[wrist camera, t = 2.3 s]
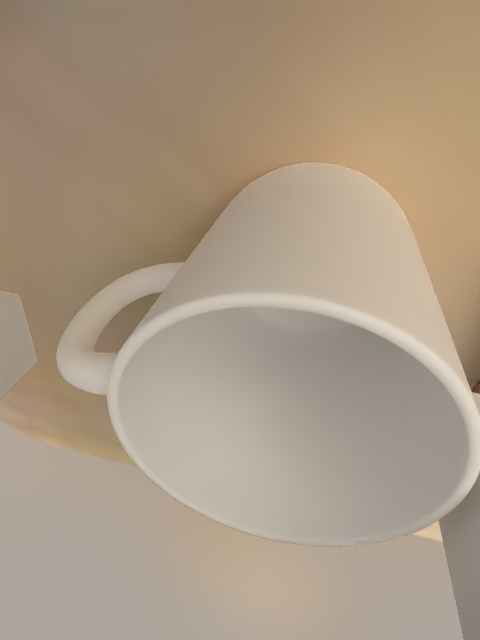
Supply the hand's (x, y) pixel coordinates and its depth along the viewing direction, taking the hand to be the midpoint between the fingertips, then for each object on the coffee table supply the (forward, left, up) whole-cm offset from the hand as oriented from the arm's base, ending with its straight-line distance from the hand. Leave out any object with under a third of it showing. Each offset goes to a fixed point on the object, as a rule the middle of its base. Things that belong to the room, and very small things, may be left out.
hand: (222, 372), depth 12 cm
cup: (0, 0, -8) cm, 8 cm away
